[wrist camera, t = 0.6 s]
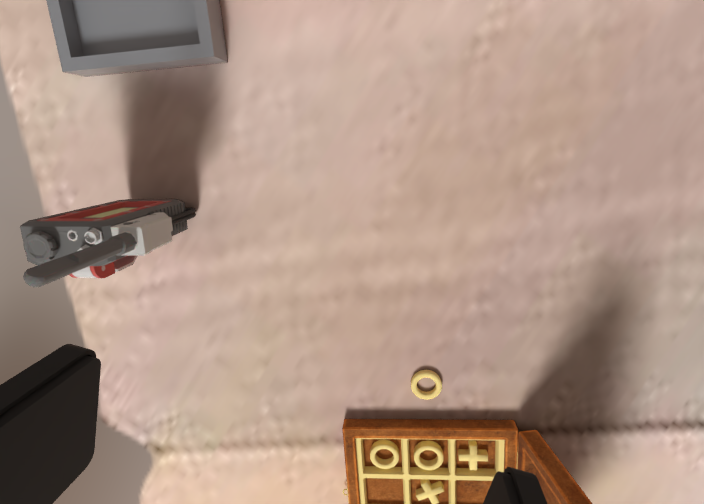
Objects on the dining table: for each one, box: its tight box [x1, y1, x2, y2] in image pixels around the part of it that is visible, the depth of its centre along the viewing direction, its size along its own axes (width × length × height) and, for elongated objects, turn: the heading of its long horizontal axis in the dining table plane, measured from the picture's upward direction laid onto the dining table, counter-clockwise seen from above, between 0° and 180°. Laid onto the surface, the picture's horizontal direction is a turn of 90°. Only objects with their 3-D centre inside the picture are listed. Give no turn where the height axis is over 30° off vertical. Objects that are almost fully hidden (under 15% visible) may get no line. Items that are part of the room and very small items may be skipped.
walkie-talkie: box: [20, 199, 196, 287], centre depth 31 cm, size 9×4×20 cm, turn 91°
